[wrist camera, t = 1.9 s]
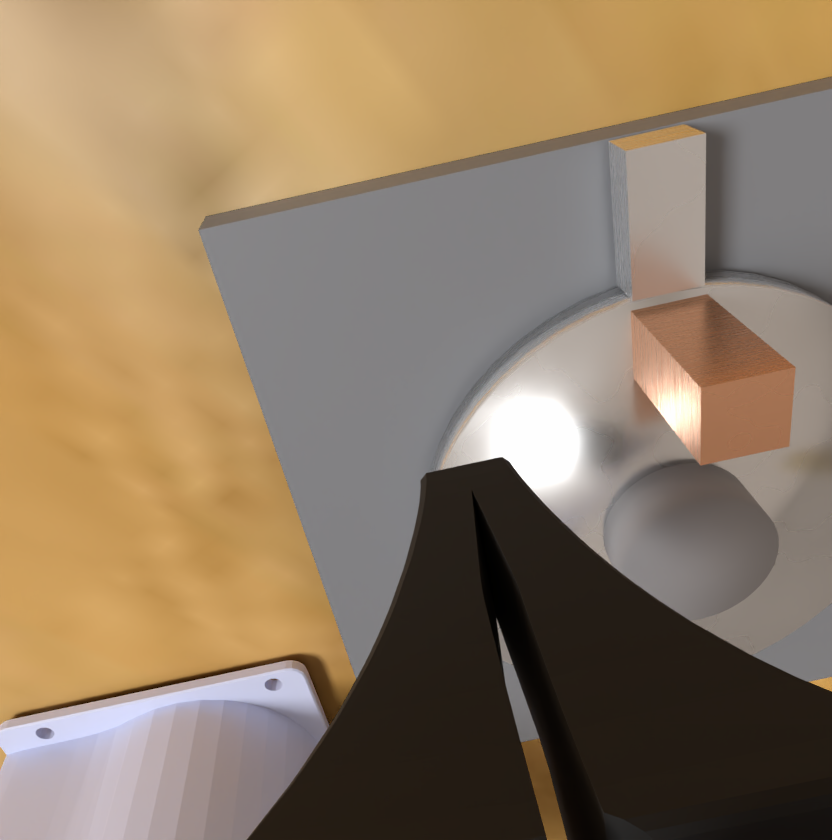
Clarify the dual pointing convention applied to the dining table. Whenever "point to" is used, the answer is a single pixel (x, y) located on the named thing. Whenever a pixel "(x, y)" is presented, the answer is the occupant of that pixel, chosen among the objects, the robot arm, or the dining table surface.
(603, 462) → the flange plate
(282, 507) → the dining table surface
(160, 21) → the dining table surface
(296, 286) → the turntable base
